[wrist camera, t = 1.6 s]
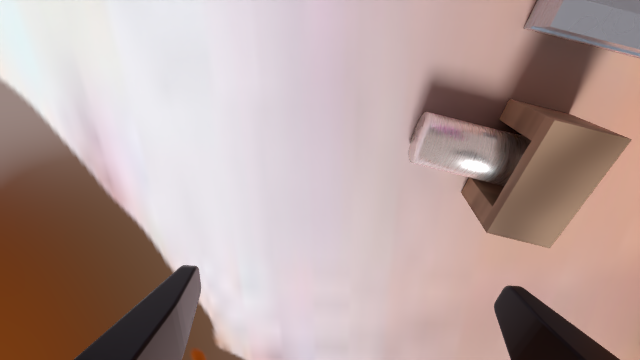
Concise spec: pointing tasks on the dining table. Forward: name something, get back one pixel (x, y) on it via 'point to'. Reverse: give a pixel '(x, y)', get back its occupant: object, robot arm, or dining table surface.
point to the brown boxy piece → (545, 175)
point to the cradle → (590, 22)
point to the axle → (466, 148)
